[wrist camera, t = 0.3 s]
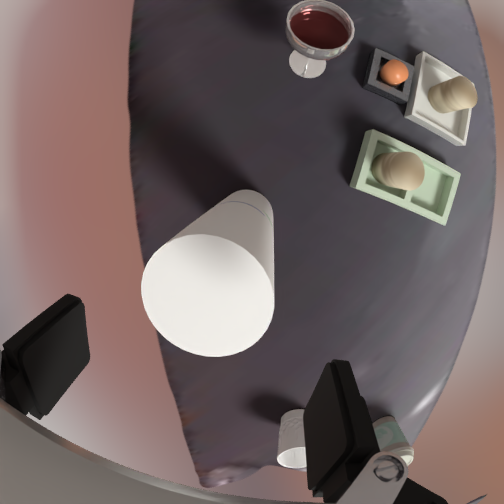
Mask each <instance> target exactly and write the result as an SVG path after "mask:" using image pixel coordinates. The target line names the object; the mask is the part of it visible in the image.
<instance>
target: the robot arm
mask: <svg viewBox="0 0 504 504" xmlns="http://www.w3.org/2000/svg"><path fill="white" fill-rule="evenodd" d="M3 347H4V350H3V351H2V352H1V350H0V504H448V503H447V501H446V500H445V499H444V498H442V497H441V496H438V495H437V494H435V493H433V492H431V491H429V490H428V489H426V488H424V487H422V486H421V485H419V484H417V483H416V482H414V481H412V480H411V479H409V478H407V475H408V467H407V464H406V462H405V461H404V460H403V458H402V457H400V456H399V455H397V454H395V453H392V452H386V451H385V452H380V448H379V445H378V441H377V438H376V435H375V431H374V428H373V425H372V421H371V418H370V415H369V412H368V409H367V405H366V402H365V400H364V398H363V397H362V396H360V393H359V390H358V387H357V384H356V381H355V378H354V375H353V372H352V369H351V366H350V363H349V361H344V360H336V359H334V360H332V362H331V363H329V362H328V363H327V364H326V366H325V368H324V370H323V372H322V374H321V377H320V379H319V381H318V383H317V385H316V387H315V390H314V392H313V394H312V396H311V398H310V400H309V402H308V404H307V406H306V408H305V410H304V414H303V425H304V437H305V451H306V466H307V480H308V489H309V490H312V491H313V497H323V499H324V500H323V501H324V503H312V502H290V501H289V502H288V501H276V500H266V499H257V498H248V497H241V496H234V495H228V494H222V493H217V492H212V491H207V490H202V489H198V488H194V487H189V486H185V485H182V484H178V483H174V482H171V481H167V480H164V479H160V478H157V477H154V476H150V475H148V474H145V473H142V472H139V471H136V470H133V469H130V468H128V467H125V466H123V465H120V464H118V463H115V462H112V461H110V460H108V459H106V458H103V457H101V456H99V455H97V454H94V453H92V452H90V451H88V450H86V449H84V448H82V447H80V446H78V445H76V444H74V443H72V442H70V441H68V440H66V439H64V438H62V437H60V436H59V435H57V434H55V433H53V432H52V431H50V430H48V429H46V428H45V427H43V426H41V425H40V424H38V423H37V422H35V421H33V420H32V419H30V418H29V417H27V416H26V415H27V414H28V412H29V413H30V414H31V415H33V416H34V417H36V418H38V419H39V420H41V418H42V417H43V416H44V415H47V414H49V412H50V411H51V410H52V408H53V407H54V406H55V404H56V403H57V402H58V401H59V399H60V398H61V397H62V395H63V394H64V393H65V392H66V390H67V389H68V388H69V387H70V385H71V384H72V383H73V381H74V380H75V379H76V378H77V376H78V375H79V374H80V373H81V371H82V370H83V369H84V368H85V366H86V365H87V364H88V363H89V360H90V352H89V344H88V337H87V328H86V318H85V307H84V304H83V303H82V300H81V299H80V298H79V297H76V296H73V295H71V294H66V295H65V296H63V297H62V298H61V299H59V300H58V301H57V302H55V303H54V304H53V305H51V306H50V307H49V308H47V309H46V310H45V311H43V312H42V313H41V314H40V315H38V316H37V317H36V318H35V319H33V320H32V321H31V322H29V323H28V324H27V325H26V326H24V327H23V328H22V329H21V330H19V331H18V332H17V333H16V334H15V335H13V336H12V337H11V338H10V339H9V340H7V341H6V342H5V343H4V344H3Z"/></svg>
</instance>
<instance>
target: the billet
mask: <svg viewBox="0 0 504 504" xmlns="http://www.w3.org/2000/svg"><path fill="white" fill-rule="evenodd" d="M428 100H429V102H430V104H431V106H432V107H433V109H434V110H436V111H437V112H439V113H448V112H453V111H458V110H462V109H467V108H472V107H474V106H475V105H476V103H477V92H476V89H475V87H474V85H473V84H472V83H471V81H470V80H469V79H467V78H466V77H464V76H457V77H454V78H452V79H449V80H447V81H444V82H442V83H439V84H437V85H435V86H432V87H431V88H430V89H429V91H428Z"/></svg>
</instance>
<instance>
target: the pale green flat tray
mask: <svg viewBox="0 0 504 504" xmlns="http://www.w3.org/2000/svg"><path fill="white" fill-rule="evenodd" d="M392 152H412V153H414V154H416V155H417V156H418V157H419V158H420V159H421V160H422V162H423V165H424V169H425V176H424V180H423V182H422V184H421V185H420V186H419V187H418V188H417V189H415V190H411V191H408V190H403V189H399V188H395V187H390V186H386V185H382V184H380V183H378V182H377V181H376V180H375V178H374V177H373V175H372V170H371V166H372V162H373V160H374V158H375V157H376V156H377V155H379V154H381V153H392ZM460 175H461V174H460V173H459V172H457V171H455V170H453V169H452V168H450V167H448V166H447V165H445V164H443V163H441V162H439V161H438V160H436V159H434V158H432V157H430V156H428V155H426V154H425V153H423V152H421V151H419V150H417V149H415V148H413V147H411V146H409V145H407V144H405V143H402V142H400V141H398V140H396V139H394V138H392V137H390V136H387V135H385V134H383V133H381V132H378V131H376V130H374V129H372V130H368V131H365V135H364V139H363V142H362V146H361V149H360V153H359V156H358V160H357V163H356V166H355V170H354V173H353V176H352V179H351V183H350V187H352V188H355V189H358V190H361V191H363V192H366V193H368V194H371V195H374V196H376V197H379V198H381V199H384V200H386V201H389V202H391V203H394V204H396V205H398V206H401V207H403V208H406V209H408V210H410V211H412V212H415V213H417V214H419V215H422V216H424V217H426V218H428V219H430V220H433V221H435V222H437V223H440V224H442V225H444V226H445V225H446V222H447V219H448V216H449V213H450V210H451V206H452V203H453V200H454V196H455V193H456V190H457V186H458V182H459V178H460Z"/></svg>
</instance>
